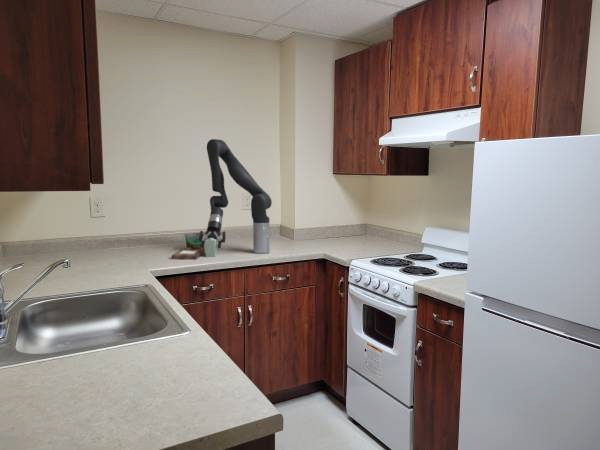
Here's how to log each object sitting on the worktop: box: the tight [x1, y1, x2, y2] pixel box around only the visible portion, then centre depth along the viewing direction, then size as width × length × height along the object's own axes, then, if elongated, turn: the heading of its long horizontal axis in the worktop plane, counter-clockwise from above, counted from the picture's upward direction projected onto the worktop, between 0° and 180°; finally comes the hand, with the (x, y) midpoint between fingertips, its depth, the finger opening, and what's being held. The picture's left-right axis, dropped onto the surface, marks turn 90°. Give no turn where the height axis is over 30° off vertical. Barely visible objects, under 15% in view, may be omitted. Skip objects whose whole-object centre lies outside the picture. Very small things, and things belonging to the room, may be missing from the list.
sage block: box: [204, 237, 218, 258], centre depth 245 cm, size 5×5×10 cm
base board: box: [171, 248, 206, 260], centre depth 246 cm, size 13×18×2 cm
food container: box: [184, 230, 202, 249], centre depth 263 cm, size 12×6×10 cm, turn 143°
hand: (210, 247), depth 243 cm, fingers open, 8 cm apart
